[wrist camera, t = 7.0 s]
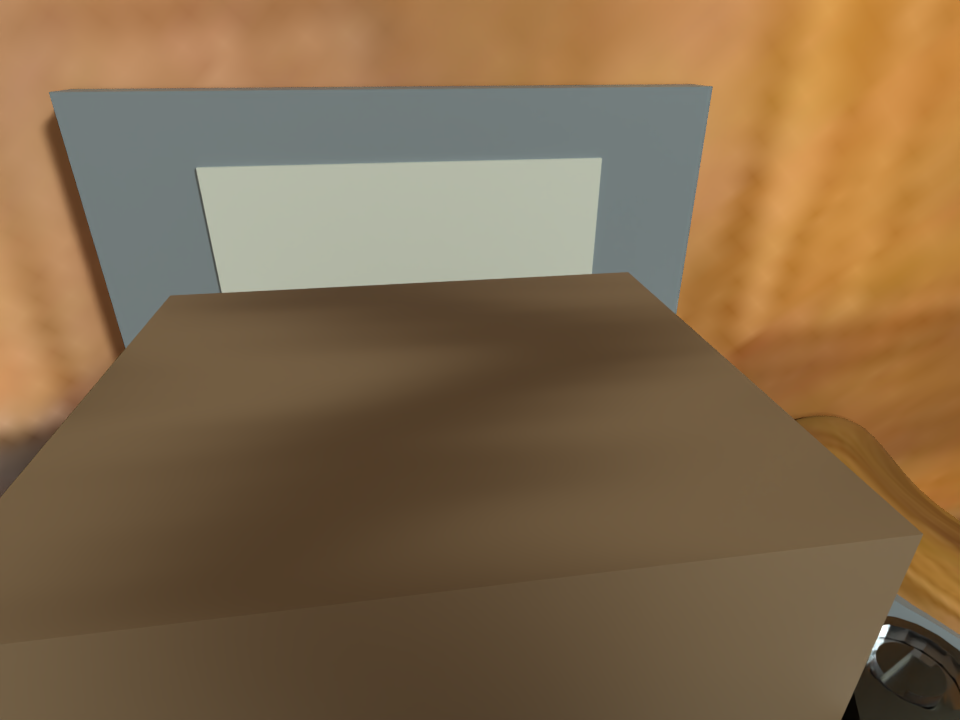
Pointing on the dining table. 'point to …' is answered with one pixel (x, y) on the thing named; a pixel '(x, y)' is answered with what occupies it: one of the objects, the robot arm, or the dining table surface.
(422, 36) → the dining table surface
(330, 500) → the walnut block
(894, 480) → the metal cup
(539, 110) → the board
